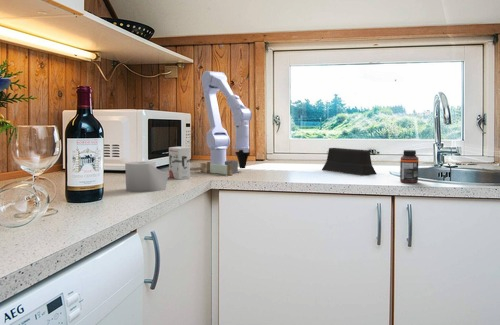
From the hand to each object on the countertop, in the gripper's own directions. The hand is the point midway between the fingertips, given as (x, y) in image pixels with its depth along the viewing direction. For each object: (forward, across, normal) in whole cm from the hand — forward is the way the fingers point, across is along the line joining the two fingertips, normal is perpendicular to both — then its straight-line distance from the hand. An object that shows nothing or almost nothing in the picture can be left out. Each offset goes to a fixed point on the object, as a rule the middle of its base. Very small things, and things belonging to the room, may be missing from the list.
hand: (242, 168), depth 184 cm
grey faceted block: (+2, +4, -7) cm, 8 cm away
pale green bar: (+1, +6, -11) cm, 13 cm away
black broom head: (+2, +13, +43) cm, 45 cm away
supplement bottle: (+2, +47, +50) cm, 68 cm away
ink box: (+2, +14, -28) cm, 31 cm away
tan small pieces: (+1, +5, -12) cm, 13 cm away
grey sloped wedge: (+2, +40, -41) cm, 57 cm away
